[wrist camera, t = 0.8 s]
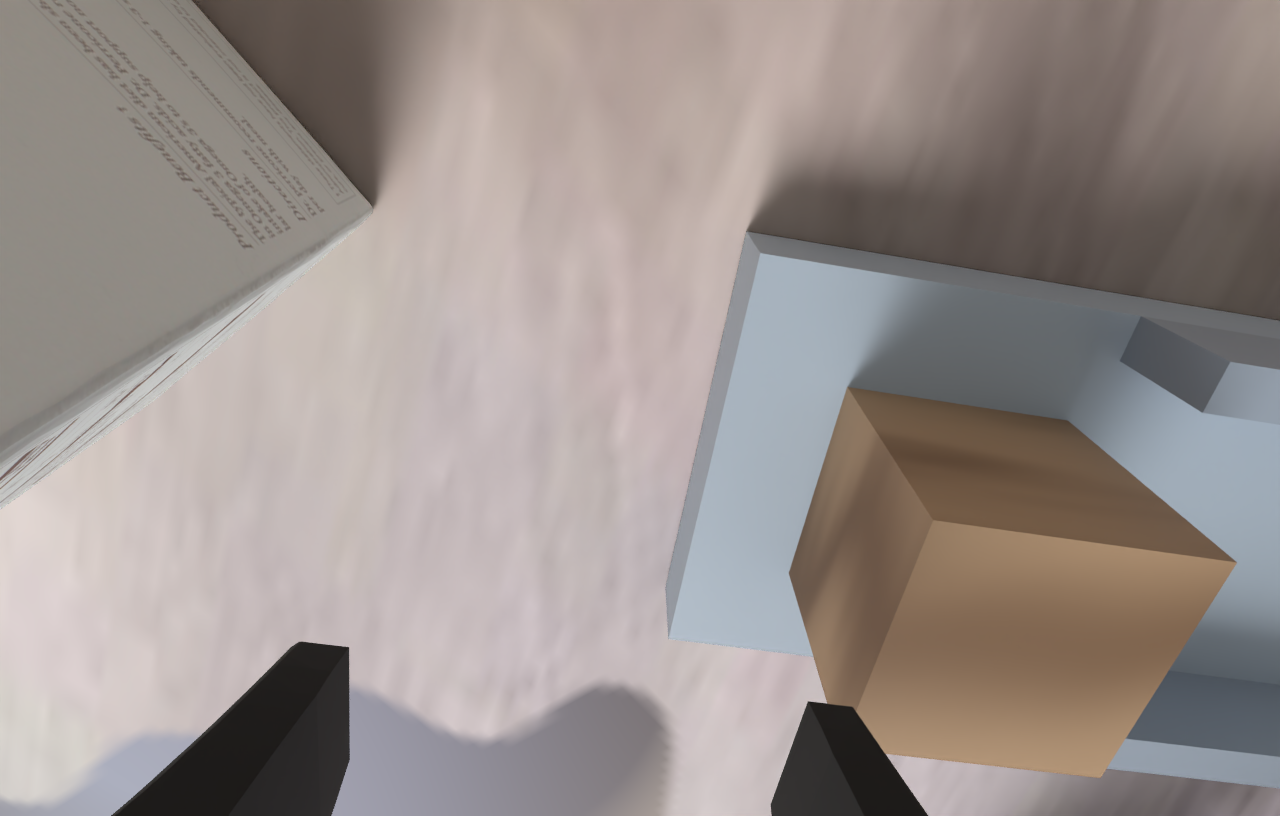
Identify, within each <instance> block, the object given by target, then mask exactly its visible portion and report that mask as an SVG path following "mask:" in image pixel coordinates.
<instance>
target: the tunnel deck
mask: <svg viewBox="0 0 1280 816" xmlns="http://www.w3.org/2000/svg"><path fill="white" fill-rule="evenodd" d="M847 387H851V388H858V389H864V390H871V391H878V392H884V393H891V394H897V395H904V396H910V397H917V398H923V399H930V400H937V401H943V402H950V403H956V404H963V405H969V406H976V407H983V408H989V409H996V410H1002V411H1009V412H1015V413H1022V414H1028V415H1035V416H1042V417H1048V418H1055V419H1061V420H1068V421H1069V422H1070V423H1071V424H1073V425H1074V426H1075V427H1076V428H1077V429H1079V430H1080V431H1081V432H1082V433H1083V434H1085V435H1086V436H1087V437H1088V438H1089V439H1091V440H1092V441H1093V442H1094V443H1095V444H1097V445H1098V446H1099V447H1100V448H1101V449H1102V450H1104V451H1105V452H1106V453H1107V454H1108V455H1110V456H1111V457H1112V458H1113V459H1114V460H1116V461H1117V462H1118V463H1119V464H1120V465H1122V466H1123V467H1124V468H1125V469H1126V470H1128V471H1129V472H1130V473H1131V474H1132V475H1133V476H1135V477H1136V478H1137V479H1138V480H1139V481H1141V482H1142V483H1143V484H1144V485H1145V486H1147V487H1148V488H1149V489H1150V490H1151V491H1153V492H1154V493H1155V494H1156V495H1157V496H1159V497H1160V498H1161V499H1162V500H1163V501H1164V502H1166V503H1167V504H1168V505H1169V506H1170V507H1172V508H1173V509H1174V510H1175V511H1176V512H1178V513H1179V514H1180V515H1181V516H1182V517H1184V518H1185V519H1186V520H1187V521H1188V522H1190V523H1191V524H1192V525H1193V526H1194V527H1195V528H1197V529H1198V530H1199V531H1200V532H1201V533H1203V534H1204V535H1205V536H1206V537H1207V538H1209V539H1210V540H1211V541H1212V542H1213V543H1215V544H1216V545H1217V546H1218V547H1219V548H1221V549H1222V550H1223V551H1224V552H1225V553H1226V554H1228V555H1229V556H1230V557H1231V558H1232V559H1234V560H1235V561H1236V562H1237V564H1236V565H1235V567H1234V569H1233V570H1232V572H1231V573H1230V575H1229V576H1228V578H1227V580H1226V581H1225V583H1224V584H1223V586H1222V587H1221V589H1220V591H1219V592H1218V594H1217V595H1216V597H1215V598H1214V600H1213V602H1212V603H1211V605H1210V606H1209V608H1208V610H1207V611H1206V613H1205V614H1204V616H1203V617H1202V619H1201V621H1200V622H1199V624H1198V625H1197V627H1196V628H1195V630H1194V632H1193V633H1192V635H1191V636H1190V638H1189V639H1188V641H1187V643H1186V644H1185V646H1184V647H1183V649H1182V650H1181V652H1180V654H1179V655H1178V657H1177V658H1176V660H1175V662H1174V663H1173V665H1172V666H1171V668H1170V669H1169V671H1168V673H1167V674H1166V676H1165V677H1164V679H1163V680H1162V682H1161V684H1160V685H1159V687H1158V688H1157V690H1156V691H1155V693H1154V695H1153V696H1152V698H1151V699H1150V701H1149V702H1148V704H1147V706H1146V707H1145V709H1144V710H1143V712H1142V714H1141V715H1140V717H1139V718H1138V720H1137V721H1136V723H1135V725H1134V726H1133V728H1132V729H1131V731H1130V732H1129V734H1128V736H1127V737H1126V739H1125V740H1124V742H1123V743H1122V745H1121V747H1120V748H1119V750H1118V751H1117V753H1116V754H1115V756H1114V758H1113V759H1112V761H1111V762H1110V764H1109V766H1108V767H1107V769H1114V770H1123V771H1132V772H1141V773H1149V774H1158V775H1167V776H1176V777H1184V778H1193V779H1202V780H1211V781H1219V782H1228V783H1237V784H1246V785H1254V786H1263V787H1272V788H1280V321H1279V320H1273V319H1267V318H1261V317H1255V316H1249V315H1243V314H1237V313H1231V312H1225V311H1219V310H1213V309H1207V308H1201V307H1195V306H1189V305H1183V304H1177V303H1171V302H1166V301H1160V300H1154V299H1148V298H1142V297H1136V296H1130V295H1124V294H1118V293H1112V292H1106V291H1100V290H1094V289H1088V288H1082V287H1076V286H1070V285H1064V284H1058V283H1052V282H1046V281H1040V280H1034V279H1028V278H1022V277H1016V276H1010V275H1004V274H998V273H992V272H986V271H980V270H974V269H968V268H963V267H957V266H951V265H945V264H939V263H933V262H927V261H921V260H915V259H909V258H903V257H897V256H891V255H885V254H879V253H873V252H867V251H861V250H855V249H849V248H843V247H837V246H831V245H825V244H819V243H813V242H807V241H801V240H795V239H789V238H783V237H777V236H771V235H765V234H760V233H754V232H748V231H746V235H745V239H744V244H743V248H742V253H741V257H740V262H739V266H738V270H737V275H736V279H735V284H734V288H733V292H732V297H731V301H730V306H729V310H728V314H727V319H726V323H725V328H724V332H723V336H722V341H721V345H720V350H719V354H718V358H717V363H716V367H715V372H714V376H713V381H712V385H711V389H710V394H709V398H708V403H707V407H706V411H705V416H704V420H703V425H702V429H701V433H700V438H699V442H698V447H697V451H696V455H695V460H694V464H693V469H692V473H691V477H690V482H689V486H688V491H687V495H686V500H685V504H684V508H683V513H682V517H681V522H680V526H679V530H678V535H677V539H676V544H675V548H674V552H673V557H672V561H671V566H670V570H669V574H668V579H667V583H666V605H667V622H668V639H673V640H681V641H689V642H697V643H705V644H713V645H722V646H730V647H738V648H746V649H754V650H762V651H770V652H779V653H787V654H795V655H803V656H811V657H813V653H812V650H811V646H810V643H809V640H808V636H807V633H806V630H805V626H804V623H803V620H802V616H801V613H800V610H799V606H798V603H797V600H796V596H795V593H794V590H793V586H792V583H791V579H790V576H789V571H790V567H791V564H792V561H793V558H794V555H795V551H796V548H797V545H798V542H799V539H800V536H801V532H802V529H803V526H804V523H805V520H806V516H807V513H808V510H809V507H810V504H811V500H812V497H813V494H814V491H815V488H816V485H817V481H818V478H819V475H820V472H821V469H822V465H823V462H824V459H825V456H826V453H827V449H828V446H829V443H830V440H831V437H832V434H833V430H834V427H835V424H836V421H837V418H838V414H839V411H840V408H841V405H842V402H843V399H844V395H845V392H846V389H847Z"/></svg>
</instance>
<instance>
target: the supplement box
mask: <svg viewBox="0 0 1280 816" xmlns="http://www.w3.org/2000/svg"><path fill="white" fill-rule="evenodd" d="M372 212H373V208H372V206H371V204H370V203H369V202H368V201H367V200H366V199H365V198H364V197H363V195H362V194H361V193H360V192H359V191H358V190H357V189H356V187H355V186H354V185H353V184H352V183H351V182H350V180H349V179H348V178H347V177H346V176H345V175H344V173H343V172H342V171H341V170H340V169H339V167H338V166H337V165H336V164H335V163H334V162H333V160H332V159H331V158H330V157H329V156H328V155H327V153H326V152H325V151H324V150H323V149H322V148H321V147H320V145H319V144H318V143H317V142H316V141H315V140H314V139H313V137H312V136H311V135H310V134H309V133H308V132H307V131H306V130H305V128H304V127H303V126H302V125H301V124H300V123H299V122H298V120H297V119H296V118H295V117H294V116H293V115H292V114H291V112H290V111H289V110H288V109H287V108H286V107H285V106H284V105H283V103H282V102H281V101H280V100H279V99H278V98H277V97H276V95H275V94H274V93H273V92H272V91H271V90H270V89H269V87H268V86H267V85H266V84H265V83H264V82H263V81H262V80H261V78H260V77H259V76H258V75H257V74H256V73H255V72H254V70H253V69H252V68H251V67H250V66H249V65H248V64H247V62H246V61H245V60H244V59H243V58H242V57H241V56H240V55H239V53H238V52H237V51H236V50H235V49H234V48H233V47H232V45H231V44H230V43H229V42H228V41H227V40H226V39H225V37H224V36H223V35H222V34H221V33H220V32H219V31H218V30H217V28H216V27H215V26H214V25H213V24H212V23H211V22H210V20H209V19H208V18H207V17H206V16H205V15H204V14H203V13H202V11H201V10H200V9H199V8H198V7H197V6H196V5H195V3H194V2H193V1H192V0H0V509H2V508H3V507H4V506H6V505H7V504H9V503H10V502H12V501H13V500H14V499H16V498H17V497H19V496H20V495H22V494H23V493H24V492H26V491H27V490H29V489H30V488H31V487H33V486H34V485H36V484H37V483H38V482H40V481H41V480H43V479H44V478H46V477H48V476H49V475H50V474H51V473H53V472H54V471H55V470H57V469H58V468H60V467H61V466H62V465H64V464H65V463H67V462H68V461H70V460H71V459H72V458H74V457H75V456H77V455H78V454H80V453H81V452H83V451H84V450H85V449H87V448H88V447H90V446H91V445H93V444H94V443H95V442H97V441H98V440H100V439H101V438H103V437H104V436H105V435H107V434H108V433H110V432H111V431H112V430H114V429H115V428H117V427H118V426H120V425H121V424H122V423H124V422H125V421H127V420H128V419H130V418H131V417H132V416H134V415H135V414H136V413H138V412H139V411H141V410H142V409H143V408H145V407H146V406H147V405H149V404H150V403H152V402H153V401H154V400H156V399H157V398H158V397H159V396H160V395H162V394H163V393H164V392H165V391H166V390H168V389H169V388H170V387H171V386H172V385H173V384H174V383H176V382H177V381H178V380H179V379H180V378H181V377H183V376H184V375H185V374H186V373H187V372H189V371H190V370H191V369H192V368H194V367H195V366H196V365H197V364H198V363H200V362H201V361H202V360H203V359H204V358H206V357H207V356H208V355H209V354H210V353H212V352H213V351H214V350H215V349H216V348H218V347H219V346H220V345H221V344H222V343H224V342H225V341H226V340H227V339H228V338H230V337H231V336H232V335H233V334H234V333H236V332H237V331H238V330H239V329H240V328H242V327H243V326H244V325H245V324H246V323H247V322H249V321H250V320H251V319H252V318H253V317H255V316H256V315H257V314H258V313H259V312H261V311H262V310H263V309H264V308H265V307H267V306H268V305H269V304H270V303H271V302H273V301H274V300H275V299H276V298H277V297H278V296H279V295H280V294H281V293H282V292H284V291H285V290H286V289H287V288H289V287H290V286H291V285H292V284H293V283H295V282H296V281H297V280H298V279H299V278H301V277H302V276H303V275H304V274H305V273H306V272H307V271H309V270H310V269H311V268H312V267H313V266H314V265H315V264H316V263H318V262H319V261H320V260H321V259H322V258H323V257H325V256H326V255H327V254H328V253H329V252H330V251H332V250H333V249H334V248H335V247H336V246H337V245H339V244H340V243H341V242H342V241H343V240H344V239H345V238H347V237H348V236H349V235H350V234H351V233H352V232H353V231H355V230H356V229H357V228H358V227H359V226H360V225H361V224H362V223H363V222H364V221H365V220H366V219H367V218H368V217H369V216H370V215H371V214H372Z"/></svg>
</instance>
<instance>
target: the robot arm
mask: <svg viewBox="0 0 1280 816" xmlns="http://www.w3.org/2000/svg"><path fill="white" fill-rule="evenodd" d="M349 750H350V749H349V647H342V646H333V645H325V644H316V643H308V642H298V643H297V644H295V645H294V646H292V647H291V648H290V649H289V650H288V651H287V652H286V653H285V654H284V655H283V656H282V657H281V658H280V659H279V660H278V661H277V662H276V663H275V664H274V665H273V666H272V667H271V668H270V669H269V670H268V671H267V672H266V673H265V674H264V675H263V676H262V677H261V678H260V679H259V680H258V681H257V682H256V683H255V684H254V685H253V686H252V687H251V688H250V689H249V690H248V691H247V692H246V693H245V694H244V695H243V696H242V697H241V698H240V699H239V700H238V701H236V702H235V703H234V704H233V705H232V706H231V707H230V708H229V709H228V710H227V711H226V712H225V713H224V714H223V715H222V716H221V717H220V718H219V719H218V720H217V721H216V722H215V723H214V724H212V725H211V726H210V727H209V728H208V729H207V730H206V731H205V732H204V733H203V734H202V735H201V736H200V737H199V738H198V739H196V740H195V741H194V742H193V743H192V744H191V745H190V746H189V747H188V748H187V749H186V750H185V751H184V752H182V753H181V754H180V755H179V756H178V757H177V758H176V759H175V760H173V761H172V762H171V763H170V764H169V765H168V766H167V767H166V768H165V769H164V770H163V771H161V772H160V773H159V774H158V775H157V776H156V777H155V778H154V779H153V780H152V781H151V782H149V783H148V784H147V785H146V786H145V787H144V788H143V789H142V790H140V791H139V792H138V793H137V794H136V795H135V796H134V797H133V798H131V800H129V801H128V802H127V803H126V804H124V805H123V806H122V807H121V808H120V809H119V810H117V811H116V812H115V813H114V814H113V815H111V816H331V814H332V812H333V809H334V806H335V803H336V800H337V797H338V794H339V791H340V787H341V784H342V781H343V778H344V775H345V772H346V769H347V766H348V763H349V760H350V758H349V757H350V756H349V755H350V754H349V752H350V751H349ZM771 812H772V816H928V815H927V813H926V812H925V811H924V809H923V808H922V806H921V805H920V803H919V802H918V800H917V799H916V798H915V796H914V795H913V793H912V792H911V790H910V789H909V788H908V786H907V785H906V783H905V782H904V780H903V779H902V777H901V776H900V775H899V773H898V772H897V770H896V769H895V767H894V766H893V764H892V763H891V761H890V760H889V759H888V757H887V756H886V754H885V753H884V751H883V750H882V748H881V747H880V745H879V744H878V743H877V741H876V740H875V738H874V737H873V735H872V734H871V732H870V731H869V729H868V728H867V727H866V725H865V724H864V722H863V721H862V719H861V718H860V717H859V715H858V714H857V712H856V711H855V709H854V708H853V707H851V706H842V705H834V704H825V703H817V702H808V703H807V706H806V709H805V711H804V714H803V717H802V720H801V722H800V725H799V728H798V731H797V733H796V736H795V739H794V742H793V744H792V747H791V750H790V753H789V756H788V758H787V761H786V764H785V767H784V769H783V772H782V775H781V778H780V780H779V783H778V786H777V789H776V791H775V794H774V797H773V800H772V803H771Z"/></svg>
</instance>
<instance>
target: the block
mask: <svg viewBox="0 0 1280 816" xmlns="http://www.w3.org/2000/svg"><path fill="white" fill-rule="evenodd" d="M1236 564H1237V562H1236V561H1235V560H1234V559H1232V558H1231V557H1230V556H1229V555H1228V554H1226V553H1225V552H1224V551H1223V550H1222V549H1221V548H1219V547H1218V546H1217V545H1216V544H1215V543H1213V542H1212V541H1211V540H1210V539H1209V538H1207V537H1206V536H1205V535H1204V534H1203V533H1201V532H1200V531H1199V530H1198V529H1197V528H1195V527H1194V526H1193V525H1192V524H1191V523H1190V522H1188V521H1187V520H1186V519H1185V518H1184V517H1182V516H1181V515H1180V514H1179V513H1178V512H1176V511H1175V510H1174V509H1173V508H1172V507H1170V506H1169V505H1168V504H1167V503H1166V502H1164V501H1163V500H1162V499H1161V498H1160V497H1159V496H1157V495H1156V494H1155V493H1154V492H1153V491H1151V490H1150V489H1149V488H1148V487H1147V486H1145V485H1144V484H1143V483H1142V482H1141V481H1139V480H1138V479H1137V478H1136V477H1135V476H1133V475H1132V474H1131V473H1130V472H1129V471H1128V470H1126V469H1125V468H1124V467H1123V466H1122V465H1120V464H1119V463H1118V462H1117V461H1116V460H1114V459H1113V458H1112V457H1111V456H1110V455H1108V454H1107V453H1106V452H1105V451H1104V450H1102V449H1101V448H1100V447H1099V446H1098V445H1097V444H1095V443H1094V442H1093V441H1092V440H1091V439H1089V438H1088V437H1087V436H1086V435H1085V434H1083V433H1082V432H1081V431H1080V430H1079V429H1077V428H1076V427H1075V426H1074V425H1073V424H1071V423H1070V422H1069V421H1068V420H1061V419H1055V418H1048V417H1042V416H1035V415H1028V414H1022V413H1015V412H1009V411H1002V410H996V409H989V408H983V407H976V406H969V405H963V404H956V403H950V402H943V401H937V400H930V399H923V398H917V397H910V396H904V395H897V394H891V393H884V392H878V391H871V390H864V389H858V388H851V387H847V389H846V392H845V395H844V399H843V402H842V405H841V408H840V411H839V414H838V418H837V421H836V424H835V427H834V430H833V434H832V437H831V440H830V443H829V446H828V449H827V453H826V456H825V459H824V462H823V465H822V469H821V472H820V475H819V478H818V481H817V485H816V488H815V491H814V494H813V497H812V500H811V504H810V507H809V510H808V513H807V516H806V520H805V523H804V526H803V529H802V532H801V536H800V539H799V542H798V545H797V548H796V551H795V555H794V558H793V561H792V564H791V567H790V571H789V576H790V579H791V583H792V586H793V590H794V593H795V596H796V600H797V603H798V606H799V610H800V613H801V616H802V620H803V623H804V626H805V630H806V633H807V636H808V640H809V643H810V646H811V650H812V653H813V657H814V660H815V663H816V667H817V670H818V673H819V677H820V680H821V683H822V687H823V690H824V693H825V697H826V700H827V703H828V704H834V705H842V706H851V707H853V708H854V709H855V711H856V712H857V714H858V715H859V717H860V718H861V719H862V721H863V722H864V724H865V725H866V727H867V728H868V729H869V731H870V732H871V734H872V735H873V737H874V738H875V740H876V741H877V743H878V744H879V745H880V747H881V748H882V750H883V751H884V753H885V754H893V755H902V756H911V757H919V758H928V759H937V760H946V761H955V762H964V763H972V764H981V765H990V766H999V767H1008V768H1017V769H1025V770H1034V771H1043V772H1052V773H1061V774H1069V775H1078V776H1087V777H1096V778H1101V777H1102V775H1103V773H1104V772H1105V770H1106V769H1107V767H1108V766H1109V764H1110V762H1111V761H1112V759H1113V758H1114V756H1115V754H1116V753H1117V751H1118V750H1119V748H1120V747H1121V745H1122V743H1123V742H1124V740H1125V739H1126V737H1127V736H1128V734H1129V732H1130V731H1131V729H1132V728H1133V726H1134V725H1135V723H1136V721H1137V720H1138V718H1139V717H1140V715H1141V714H1142V712H1143V710H1144V709H1145V707H1146V706H1147V704H1148V702H1149V701H1150V699H1151V698H1152V696H1153V695H1154V693H1155V691H1156V690H1157V688H1158V687H1159V685H1160V684H1161V682H1162V680H1163V679H1164V677H1165V676H1166V674H1167V673H1168V671H1169V669H1170V668H1171V666H1172V665H1173V663H1174V662H1175V660H1176V658H1177V657H1178V655H1179V654H1180V652H1181V650H1182V649H1183V647H1184V646H1185V644H1186V643H1187V641H1188V639H1189V638H1190V636H1191V635H1192V633H1193V632H1194V630H1195V628H1196V627H1197V625H1198V624H1199V622H1200V621H1201V619H1202V617H1203V616H1204V614H1205V613H1206V611H1207V610H1208V608H1209V606H1210V605H1211V603H1212V602H1213V600H1214V598H1215V597H1216V595H1217V594H1218V592H1219V591H1220V589H1221V587H1222V586H1223V584H1224V583H1225V581H1226V580H1227V578H1228V576H1229V575H1230V573H1231V572H1232V570H1233V569H1234V567H1235V565H1236Z"/></svg>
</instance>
